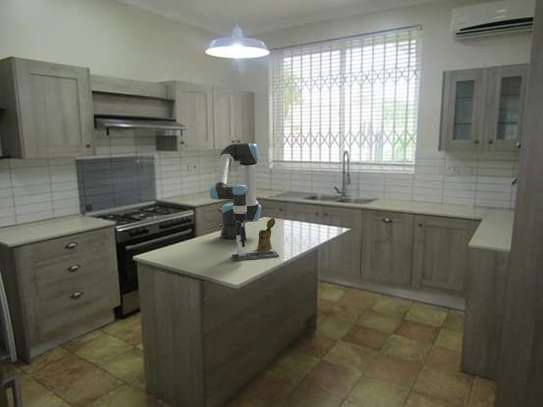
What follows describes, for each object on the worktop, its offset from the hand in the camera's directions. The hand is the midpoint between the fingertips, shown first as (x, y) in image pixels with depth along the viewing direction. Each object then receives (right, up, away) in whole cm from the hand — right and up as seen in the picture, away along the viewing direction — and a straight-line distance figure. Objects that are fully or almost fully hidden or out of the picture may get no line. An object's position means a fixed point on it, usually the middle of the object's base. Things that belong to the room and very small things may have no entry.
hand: (241, 249), depth 222 cm
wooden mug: (+15, -2, +21) cm, 25 cm away
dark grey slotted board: (+8, -5, +3) cm, 10 cm away
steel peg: (0, -5, +1) cm, 5 cm away
